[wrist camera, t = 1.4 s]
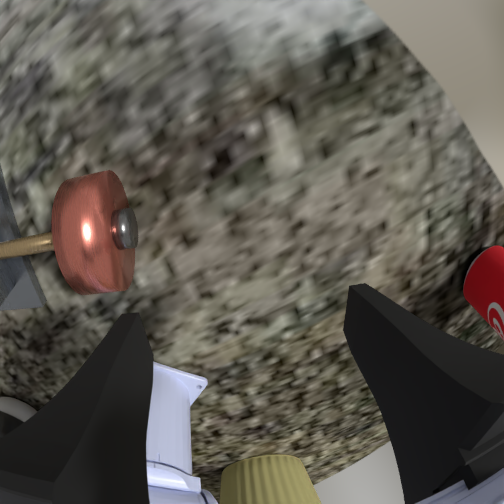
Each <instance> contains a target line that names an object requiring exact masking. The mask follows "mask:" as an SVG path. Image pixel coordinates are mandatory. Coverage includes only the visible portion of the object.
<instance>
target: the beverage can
mask: <svg viewBox="0 0 504 504" xmlns="http://www.w3.org/2000/svg"><path fill="white" fill-rule="evenodd" d="M463 293H464V297H465V299H466V300H467V301H468V302H469V303H470V304H471V305H472V306H473V307H474V308H475V309H476V310H477V312H478V313H479V314H480V315H481V316H482V317H483V318H484V319H485V320H486V321H487V322H488V323H489V324H490V326H491V327H492V328H493V329H494V330H495V331H496V332H497V333H498V335H499V336H500V337H501V338H502V339H503V340H504V248H503V247H501V246H492V247H489V248H488V249H486V250H484V251H483V252H481V253H480V254H479V255H478V256H477V257H476V258H475V259H474V261H473V262H472V263H471V265H470V267H469V269H468V271H467V274H466V277H465V281H464V286H463Z"/></svg>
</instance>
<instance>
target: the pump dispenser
mask: <svg viewBox="0 0 504 504" xmlns="http://www.w3.org/2000/svg"><path fill="white" fill-rule="evenodd" d="M37 412H38V411H36V410H35V409H34V408H33V407H31V406H30V405H28V404H26V403H24V402H22V401H20V400H18V399H15V398H10V397H0V438H2V437H3V436H5V435H7V434H8V433H10V432H11V431H13V430H14V429H16V428H17V427H18V426H20V425H21V424H23V423H24V422H25V421H27V420H28V419H29V418H30V417H32V416H33V415H34V414H35V413H37Z"/></svg>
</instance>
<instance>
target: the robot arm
mask: <svg viewBox="0 0 504 504" xmlns="http://www.w3.org/2000/svg"><path fill="white" fill-rule="evenodd" d="M343 331H344V334H345V336H346V339H347V342H348V345H349V348H350V350H351V353H352V355H353V357H354V359H355V361H356V363H357V365H358V367H359V369H360V371H361V373H362V374H363V376H364V378H365V380H366V382H367V384H368V386H369V388H370V390H371V392H372V394H373V396H374V398H375V400H376V402H377V404H378V406H379V408H380V411H381V414H382V416H383V419H384V422H385V425H386V428H387V431H388V434H389V437H390V440H391V443H392V446H393V450H394V453H395V457H396V461H397V465H398V469H399V473H400V479H401V484H402V489H403V494H404V501H405V504H504V355H502V354H499V353H496V352H492V351H489V350H486V349H483V348H480V347H478V346H475V345H472V344H470V343H467V342H465V341H462V340H460V339H458V338H456V337H454V336H452V335H450V334H447V333H445V332H443V331H441V330H439V329H438V328H436V327H434V326H432V325H430V324H429V323H427V322H425V321H424V320H422V319H420V318H418V317H417V316H415V315H414V314H412V313H410V312H409V311H407V310H406V309H404V308H403V307H401V306H400V305H398V304H396V303H395V302H393V301H392V300H390V299H389V298H387V297H386V296H384V295H383V294H381V293H380V292H378V291H377V290H375V289H374V288H372V287H371V286H369V285H367V284H365V283H364V284H358V285H351V286H349V292H348V300H347V307H346V314H345V321H344V328H343ZM207 384H208V383H207V379H206V378H204V377H201V376H197V375H194V374H191V373H187V372H184V371H181V370H178V369H175V368H172V367H169V366H166V365H163V364H160V363H157V362H154V361H153V353H152V350H151V347H150V344H149V341H148V339H147V336H146V333H145V330H144V327H143V324H142V321H141V318H140V315H139V313H127V314H122V315H121V316H120V317H119V319H118V320H117V321H116V323H115V324H114V325H113V327H112V328H111V329H110V331H109V332H108V333H107V335H106V336H105V337H104V339H103V340H102V341H101V343H100V344H99V345H98V347H97V348H96V349H95V351H94V352H93V353H92V355H91V356H90V357H89V358H88V360H87V361H86V362H85V363H84V364H83V366H82V367H81V368H80V369H79V371H78V372H77V373H76V374H75V375H74V377H73V378H72V379H71V380H70V381H69V382H68V383H67V384H66V385H65V386H64V387H63V388H62V389H61V390H60V391H59V392H58V394H57V395H56V396H54V397H53V398H52V399H51V400H50V401H49V402H48V403H47V404H46V405H44V406H43V407H42V408H41V409H40V410H39V411H38V412H37V413H35V414H34V415H33V416H32V417H30V418H29V419H28V420H27V421H25V422H24V423H23V424H21V425H20V426H18V427H17V428H16V429H14V430H13V431H11V432H10V433H8V434H7V435H5V436H3V437H2V438H0V504H218V502H217V501H216V499H215V498H214V497H213V495H212V494H211V493H210V492H209V491H208V490H205V489H201V482H200V478H199V477H194V476H192V459H191V431H190V406H191V405H192V404H193V402H194V401H195V400H196V398H197V397H198V396H199V395H200V393H201V392H202V391H203V390H204V388H205V387H206V386H207Z"/></svg>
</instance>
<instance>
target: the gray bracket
mask: <svg viewBox="0 0 504 504" xmlns="http://www.w3.org/2000/svg"><path fill="white" fill-rule="evenodd" d="M18 238H21V235H20V232H19V229H18V226H17V223H16V220H15V217H14V213H13V210H12V207H11V203H10V200H9V196H8V193H7V189H6V185H5V182H4V178H3V174H2V169H1V165H0V242H4V241H9V240H14V239H18ZM46 301H47V300H46V298H45V296H44V293H43V291H42V289H41V287H40V284H39V282H38V279H37V277H36V275H35V272H34V270H33V267H32V265H31V262H30V260H29V257H28V255H25V256H19V257H14V258H8V259H3V260H0V310H12V309H24V308H36V307H43V306H44V304H45V303H46Z"/></svg>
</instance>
